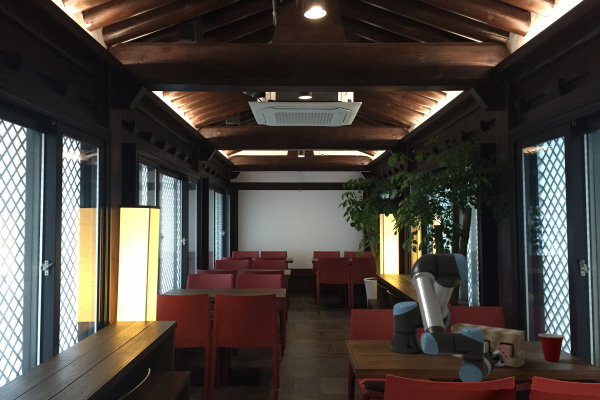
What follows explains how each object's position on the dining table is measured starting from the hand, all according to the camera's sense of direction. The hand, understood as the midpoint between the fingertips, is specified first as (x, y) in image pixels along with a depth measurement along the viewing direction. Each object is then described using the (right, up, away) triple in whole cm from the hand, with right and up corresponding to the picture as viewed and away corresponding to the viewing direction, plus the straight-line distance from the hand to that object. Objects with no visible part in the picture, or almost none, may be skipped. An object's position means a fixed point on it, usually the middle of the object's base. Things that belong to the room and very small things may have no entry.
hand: (498, 353), depth 197 cm
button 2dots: (-2, -4, +14) cm, 15 cm away
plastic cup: (+32, -9, +18) cm, 38 cm away
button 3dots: (+6, -4, +8) cm, 11 cm away
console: (+3, -9, +20) cm, 22 cm away
